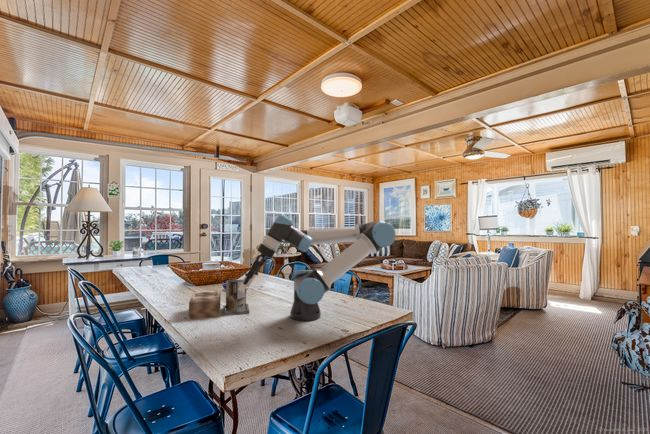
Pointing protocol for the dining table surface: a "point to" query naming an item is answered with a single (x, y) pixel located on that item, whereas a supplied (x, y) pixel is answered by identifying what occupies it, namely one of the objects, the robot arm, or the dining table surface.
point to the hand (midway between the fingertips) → (243, 288)
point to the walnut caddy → (209, 305)
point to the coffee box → (235, 296)
